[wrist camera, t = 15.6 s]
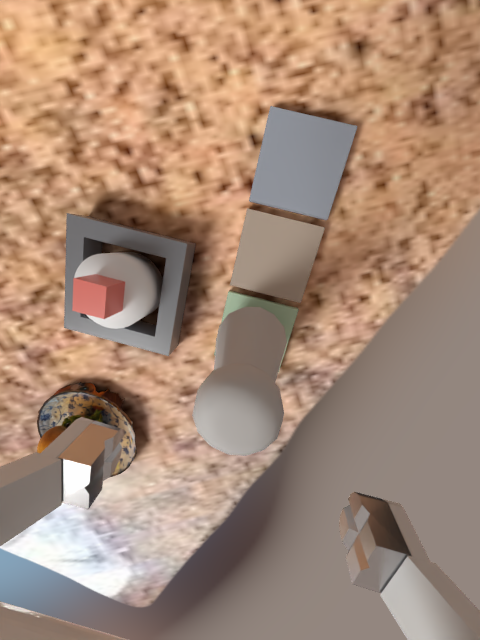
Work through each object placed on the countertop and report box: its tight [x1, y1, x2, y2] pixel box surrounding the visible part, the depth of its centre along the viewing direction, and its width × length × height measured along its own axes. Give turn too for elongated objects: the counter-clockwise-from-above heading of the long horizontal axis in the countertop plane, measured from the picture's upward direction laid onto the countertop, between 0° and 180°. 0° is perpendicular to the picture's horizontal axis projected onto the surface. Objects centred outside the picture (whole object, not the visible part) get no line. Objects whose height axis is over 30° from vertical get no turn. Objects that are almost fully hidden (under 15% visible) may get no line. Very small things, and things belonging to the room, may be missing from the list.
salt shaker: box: [193, 307, 287, 456], centre depth 17 cm, size 6×6×13 cm
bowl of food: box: [37, 382, 136, 477], centre depth 26 cm, size 12×12×8 cm
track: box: [214, 106, 357, 372], centre depth 22 cm, size 20×6×1 cm, turn 167°
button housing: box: [64, 213, 196, 356], centre depth 23 cm, size 10×10×2 cm
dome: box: [72, 252, 163, 329], centre depth 21 cm, size 6×6×6 cm
